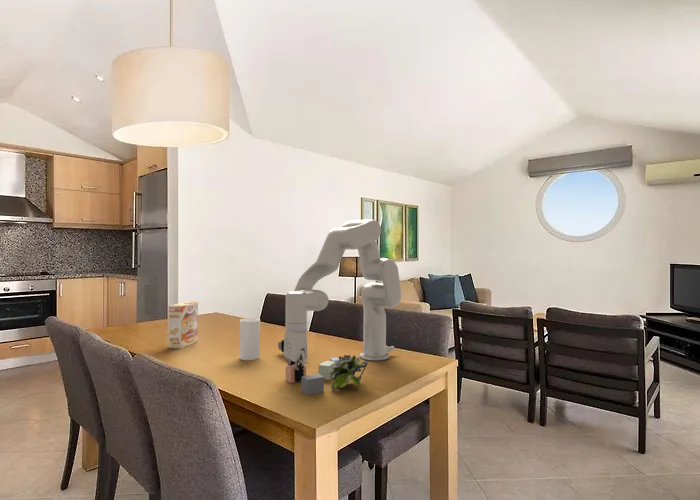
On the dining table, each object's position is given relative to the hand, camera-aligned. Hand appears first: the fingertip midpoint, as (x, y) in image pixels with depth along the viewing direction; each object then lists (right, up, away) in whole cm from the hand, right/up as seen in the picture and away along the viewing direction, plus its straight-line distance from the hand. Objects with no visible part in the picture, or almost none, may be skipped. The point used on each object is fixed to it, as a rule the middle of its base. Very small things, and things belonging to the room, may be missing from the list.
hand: (295, 378), depth 149 cm
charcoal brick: (+7, -1, -12) cm, 14 cm away
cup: (-23, 0, +29) cm, 37 cm away
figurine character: (-6, -1, +32) cm, 33 cm away
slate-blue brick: (+15, -1, +10) cm, 18 cm away
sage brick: (+11, -1, +4) cm, 11 cm away
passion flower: (+19, -1, -7) cm, 20 cm away
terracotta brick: (0, -1, 0) cm, 1 cm away
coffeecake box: (-60, 0, +52) cm, 79 cm away
